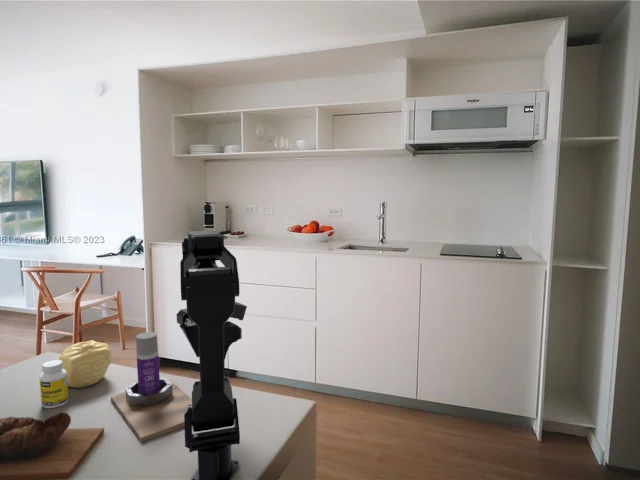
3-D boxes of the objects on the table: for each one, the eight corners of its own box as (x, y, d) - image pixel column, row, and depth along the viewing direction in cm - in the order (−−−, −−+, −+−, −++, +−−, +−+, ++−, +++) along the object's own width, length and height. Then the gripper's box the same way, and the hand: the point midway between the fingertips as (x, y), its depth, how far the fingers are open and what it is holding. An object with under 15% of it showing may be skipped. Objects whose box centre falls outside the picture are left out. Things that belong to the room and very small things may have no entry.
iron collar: (157, 408, 96) (156, 397, 95) (118, 404, 97) (117, 394, 97) (178, 388, 105) (178, 378, 105) (142, 385, 107) (142, 375, 106)
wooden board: (207, 417, 94) (207, 413, 94) (141, 442, 85) (140, 437, 85) (169, 382, 110) (169, 379, 110) (110, 400, 102) (110, 396, 101)
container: (146, 403, 98) (142, 340, 96) (135, 397, 101) (131, 336, 99) (164, 395, 102) (161, 334, 100) (153, 390, 104) (150, 330, 102)
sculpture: (72, 397, 103) (68, 354, 102) (51, 383, 110) (47, 343, 109) (118, 380, 112) (116, 340, 111) (96, 368, 119) (93, 330, 118)
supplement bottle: (38, 410, 97) (34, 369, 96) (46, 399, 102) (42, 359, 101) (65, 407, 98) (61, 366, 97) (71, 396, 104) (68, 357, 102)
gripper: (263, 293, 87) (265, 367, 89) (220, 278, 101) (222, 342, 103) (212, 303, 80) (215, 382, 82) (174, 285, 94) (177, 353, 96)
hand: (208, 363), depth 91 cm, fingers open, 9 cm apart
